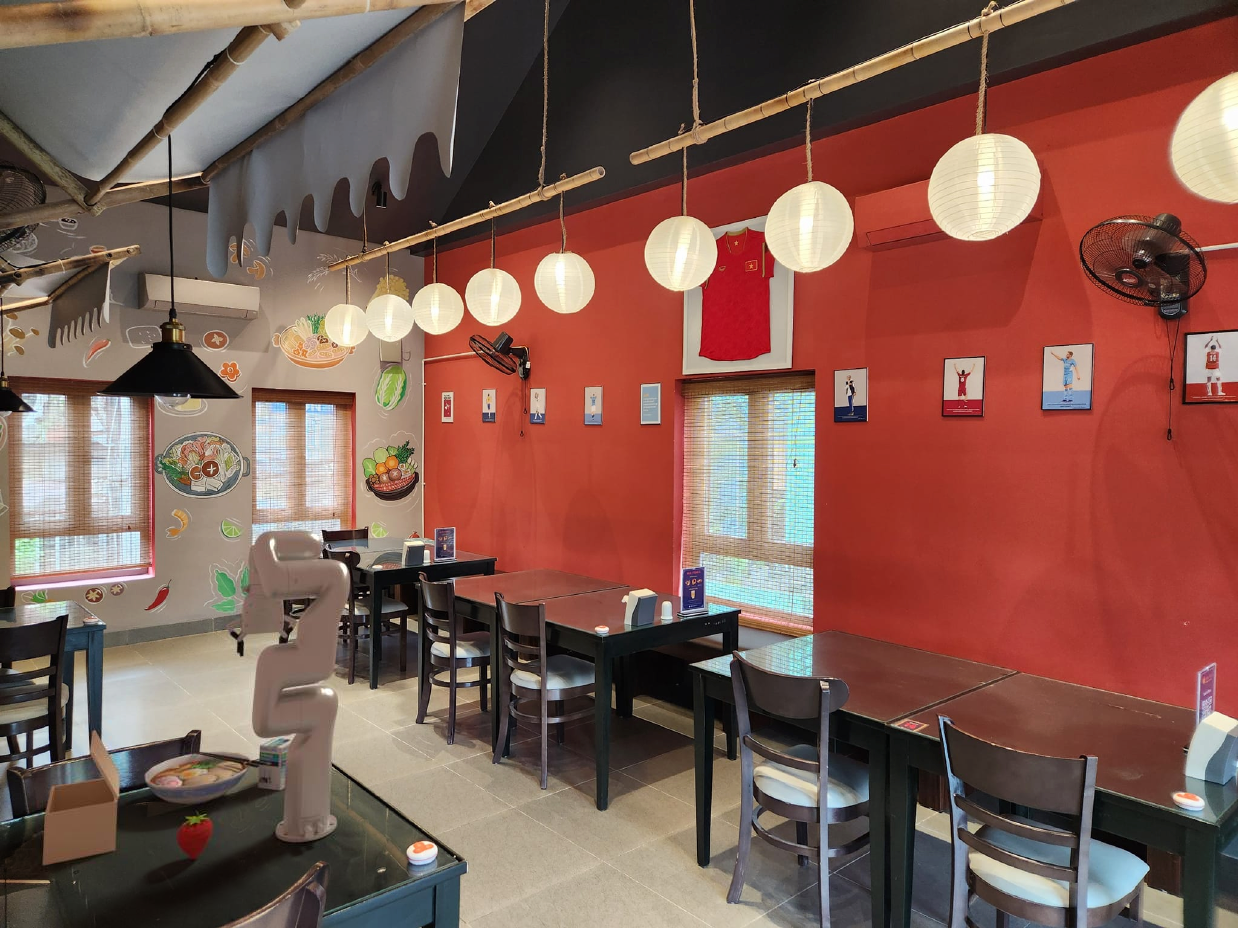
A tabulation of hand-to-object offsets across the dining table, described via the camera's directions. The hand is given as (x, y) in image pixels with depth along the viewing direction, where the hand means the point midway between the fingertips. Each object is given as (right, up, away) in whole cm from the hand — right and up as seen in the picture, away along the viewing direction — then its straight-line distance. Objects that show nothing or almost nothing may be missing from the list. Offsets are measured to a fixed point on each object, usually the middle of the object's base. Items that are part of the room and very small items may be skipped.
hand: (261, 653), depth 201 cm
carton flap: (-15, -14, -40) cm, 45 cm away
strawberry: (+9, -30, -48) cm, 57 cm away
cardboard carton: (-18, -29, -42) cm, 54 cm away
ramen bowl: (-6, -30, -19) cm, 37 cm away
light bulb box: (+9, -31, -8) cm, 33 cm away
